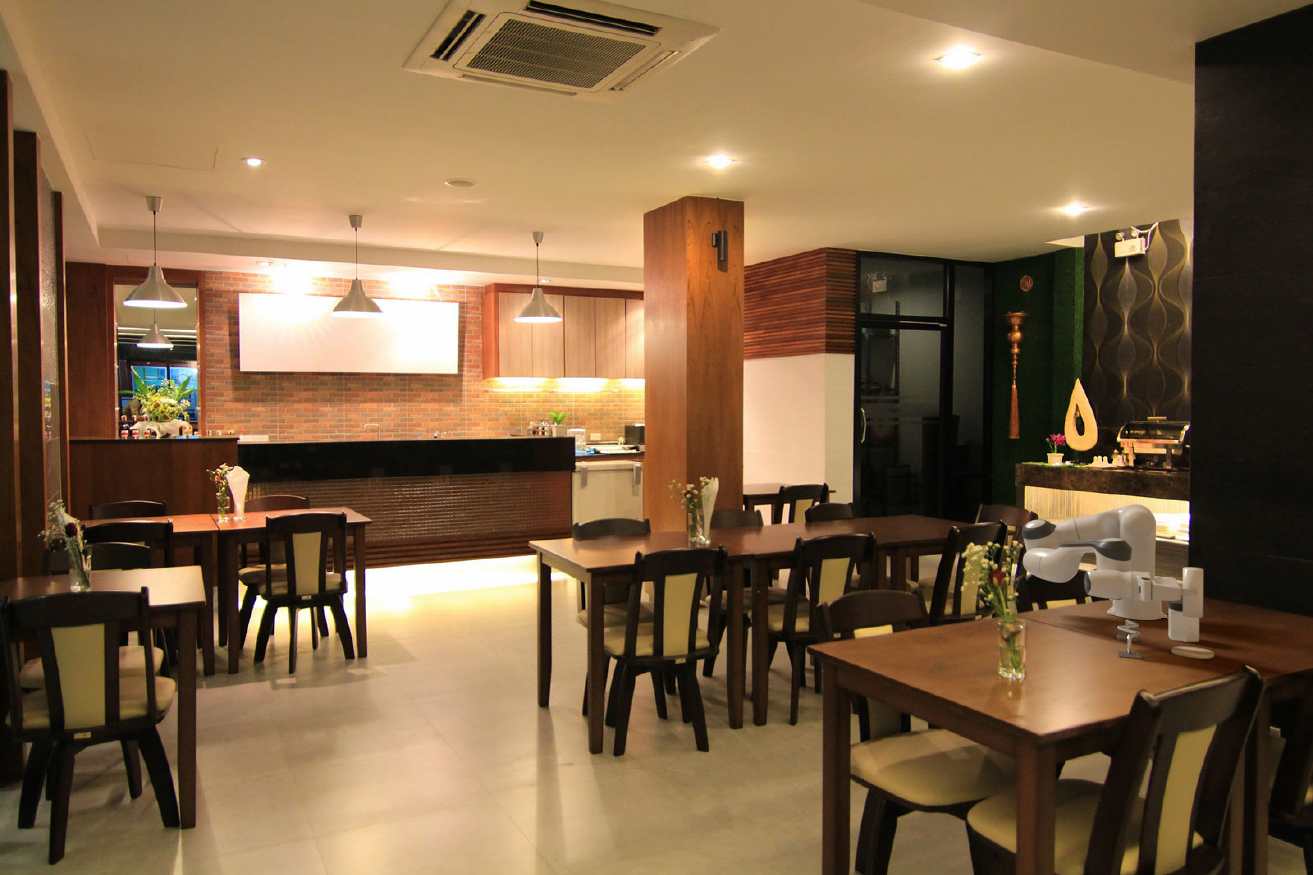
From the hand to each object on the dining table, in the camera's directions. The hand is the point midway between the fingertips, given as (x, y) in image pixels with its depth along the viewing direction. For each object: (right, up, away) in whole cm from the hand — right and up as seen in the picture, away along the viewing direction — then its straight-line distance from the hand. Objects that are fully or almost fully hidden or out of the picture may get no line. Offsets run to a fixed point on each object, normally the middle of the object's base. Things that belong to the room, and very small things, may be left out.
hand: (1196, 590), depth 268 cm
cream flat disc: (0, -19, +1) cm, 19 cm away
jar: (+7, -19, +19) cm, 27 cm away
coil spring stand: (-16, -19, +9) cm, 26 cm away
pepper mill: (-1, -8, +1) cm, 8 cm away
